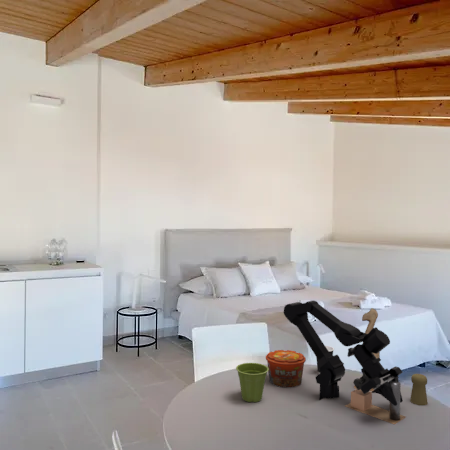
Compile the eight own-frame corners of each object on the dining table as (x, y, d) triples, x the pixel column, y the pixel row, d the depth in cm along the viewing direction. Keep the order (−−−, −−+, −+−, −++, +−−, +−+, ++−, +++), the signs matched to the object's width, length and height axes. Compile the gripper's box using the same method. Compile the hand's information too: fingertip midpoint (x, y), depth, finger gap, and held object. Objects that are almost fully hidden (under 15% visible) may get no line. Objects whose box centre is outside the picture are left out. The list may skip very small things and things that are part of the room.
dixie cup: (337, 376, 184) (337, 350, 184) (319, 377, 183) (319, 351, 182) (328, 370, 192) (328, 344, 192) (311, 371, 190) (311, 345, 190)
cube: (350, 406, 152) (351, 391, 152) (358, 402, 156) (358, 388, 155) (364, 411, 148) (364, 396, 148) (371, 406, 152) (371, 392, 152)
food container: (301, 392, 168) (301, 363, 168) (260, 385, 174) (260, 358, 173) (308, 377, 183) (309, 351, 183) (271, 372, 189) (271, 347, 188)
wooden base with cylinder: (344, 409, 152) (344, 372, 152) (356, 403, 158) (357, 367, 158) (394, 428, 139) (395, 387, 139) (406, 420, 144) (407, 381, 144)
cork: (430, 410, 153) (430, 378, 153) (411, 408, 154) (412, 377, 154) (425, 403, 159) (426, 372, 158) (407, 401, 160) (408, 371, 160)
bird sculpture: (357, 383, 178) (356, 303, 178) (388, 387, 173) (387, 305, 173) (353, 393, 168) (351, 309, 167) (386, 398, 163) (384, 311, 162)
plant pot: (231, 402, 158) (231, 371, 158) (242, 390, 169) (242, 361, 169) (262, 408, 153) (263, 375, 153) (272, 395, 164) (272, 365, 164)
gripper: (366, 367, 161) (395, 407, 153) (337, 379, 148) (367, 423, 140) (387, 350, 155) (418, 391, 147) (359, 361, 142) (391, 407, 134)
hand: (398, 403), depth 142 cm, fingers closed on wooden base with cylinder, 3 cm apart
